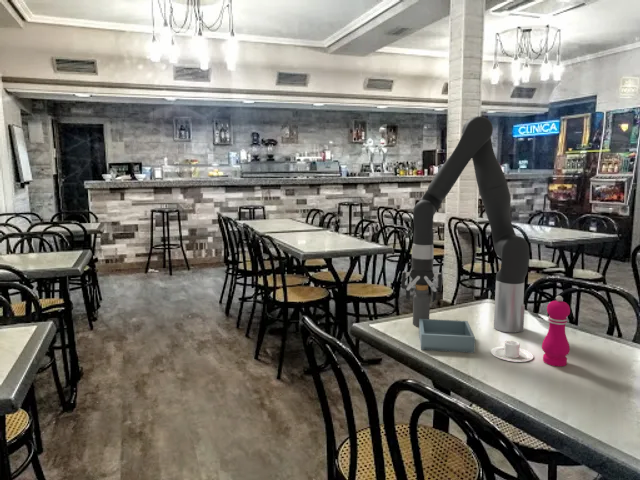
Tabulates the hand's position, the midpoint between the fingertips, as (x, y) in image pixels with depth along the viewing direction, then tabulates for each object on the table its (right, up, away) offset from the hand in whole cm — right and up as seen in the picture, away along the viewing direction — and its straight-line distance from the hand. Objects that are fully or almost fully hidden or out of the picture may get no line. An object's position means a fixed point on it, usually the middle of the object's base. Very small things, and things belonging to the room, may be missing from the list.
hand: (420, 300), depth 171 cm
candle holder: (+22, -14, -27) cm, 37 cm away
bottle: (0, -9, +2) cm, 9 cm away
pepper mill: (+32, -14, -33) cm, 48 cm away
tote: (+5, -11, -16) cm, 20 cm away
